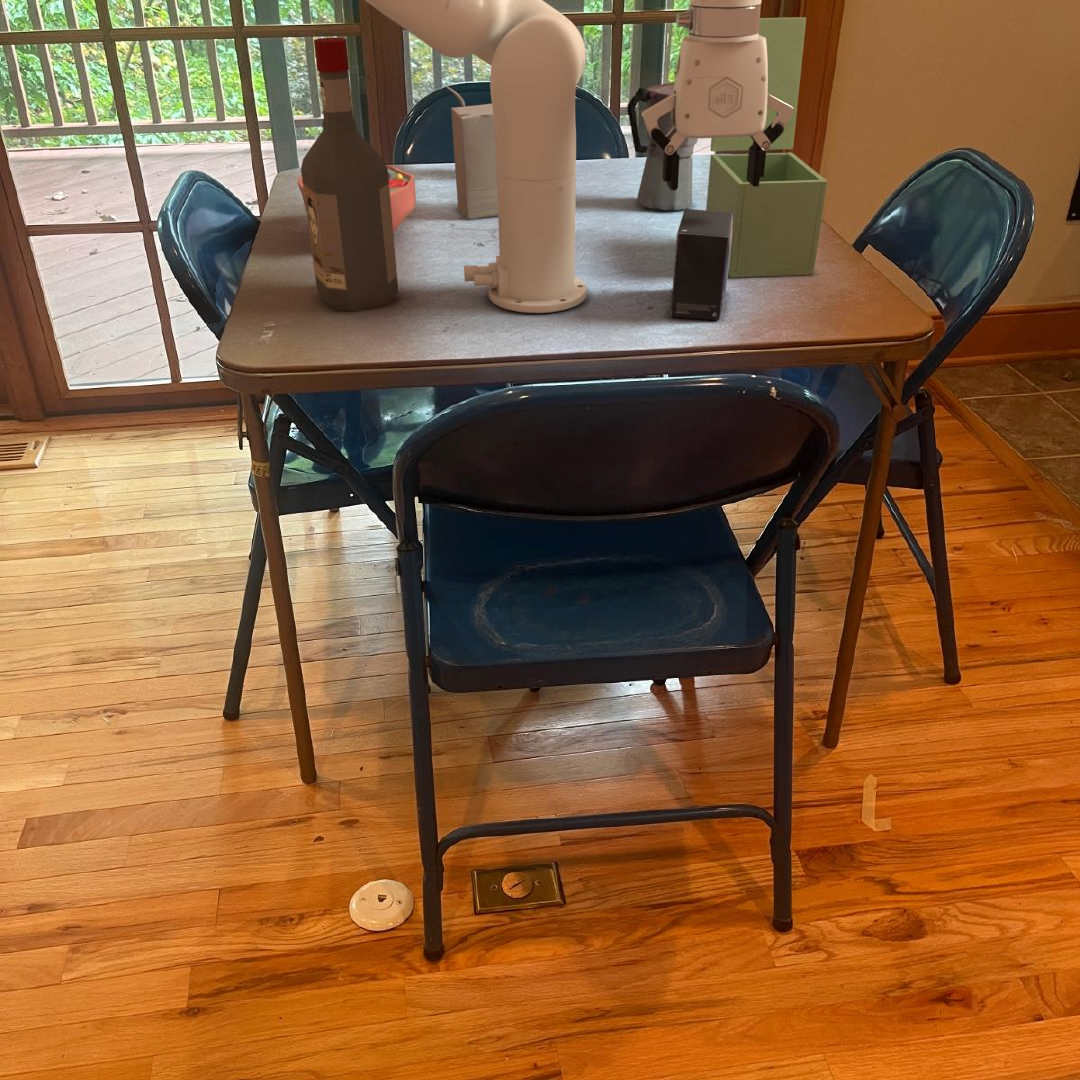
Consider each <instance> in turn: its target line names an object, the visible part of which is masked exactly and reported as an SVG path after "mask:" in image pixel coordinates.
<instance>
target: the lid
mask: <svg viewBox="0 0 1080 1080" xmlns="http://www.w3.org/2000/svg"><path fill="white" fill-rule="evenodd" d="M806 23H807V17H805V16H804V17H803V16H802V17H801V16H800V17H765V18H764V17H760V23H759V32H758V33H759V34H758V35H760V36H763V37H765V38H766V45H767V60H768V89H767V93H768V94H770V95H772V96H774V97H776V98H777V99H779V100H781V101H783V102H784V103H786V104H788V105H790V106H791V107H793V109H794V112H793V114H792V116H791V118H790V120H789V121H788V123H787V125H786V126H785V127H784V131H783V133H782V134H781V135H780V136H779V137H778V138H777V139H776V140H775V141H774V142H773V143H772V144H771V147H770V148H769V150H768V151H776V150H778V151H779V150H793V149H794V142H795V132H796V123H797V121H796V120H797V113H798V103H799V94H800V82H801V73H802V62H803V53H804V43H805V33H806V25H807V24H806ZM775 117H776V111H774V110H772V109H770V108H769V107H767V114H766V123H765V127H764V129H763V131H764V130H765V129H766V128H767V127H768V126H769V125H770V124H771V123H772V122H773V121H774V120H775ZM751 145H753V140H752V139H751V137H750V136H743V137H722V138H710V152H742V151H744V152H746V151H749V147H751Z"/></svg>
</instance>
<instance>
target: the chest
mask: <svg viewBox="0 0 1080 1080" xmlns="http://www.w3.org/2000/svg"><path fill="white" fill-rule="evenodd" d="M748 155H749V153H721V154H711V155H710V160H709V173H708V182H707V195H706V207H705V208H706V209H705V210H707V211H718V212H731V213H733V222H732V240H731V251H730V261H729V270H728V278H730V279H734V278H735V279H736V278H738V279H739V278H758V277H759V278H762V277H789V276H813V275H814V273H815V267H816V261H817V256H818V255H817V254H818V249H819V247H818V246H819V240H820V234H821V227H822V221H823V215H824V208H825V202H826V201H825V200H826V194H827V189H828V188H827V187H828V180H827V179H826V178H824V177H823V176H821V175H820V173H818V172H817V171H815V170H814V169H813V168H812V167H811V166H810V165H808V164H806V162H804V160H802V159H801V158H799V157H798V156H797V155H795V153H793V152H791V151H790V152H789V151H788V152H766V159H765V169H764V176H763V177H760V181H759V186H758V187H754V186H752V185H751V184H750V183H749V182H748V181H747V179H746V177H747V166H748Z"/></svg>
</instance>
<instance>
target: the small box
mask: <svg viewBox="0 0 1080 1080" xmlns="http://www.w3.org/2000/svg"><path fill="white" fill-rule="evenodd" d="M683 210H684V211H683V213H682V217H681V219H680V223H679V226H678V229H677V233H676V241H675V242H676V243H675V254H674V257H675V258H674V268H673V269H674V270H673V283H672V292H671V302H670V312H669V316H670V318H671V317H672V318H686V319H687V318H689V319H699V320H711V321H719V320H720V319H721V314H722V312H723V311H722V310H723V305H724V302H725V301H724V300H725V295H726V291H727V283H728V278H729V276H728V270H729V261H730V251H731V240H732V222H733V213H731V212H718V211H707V210H706V209H694V208H687V209H683Z"/></svg>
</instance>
